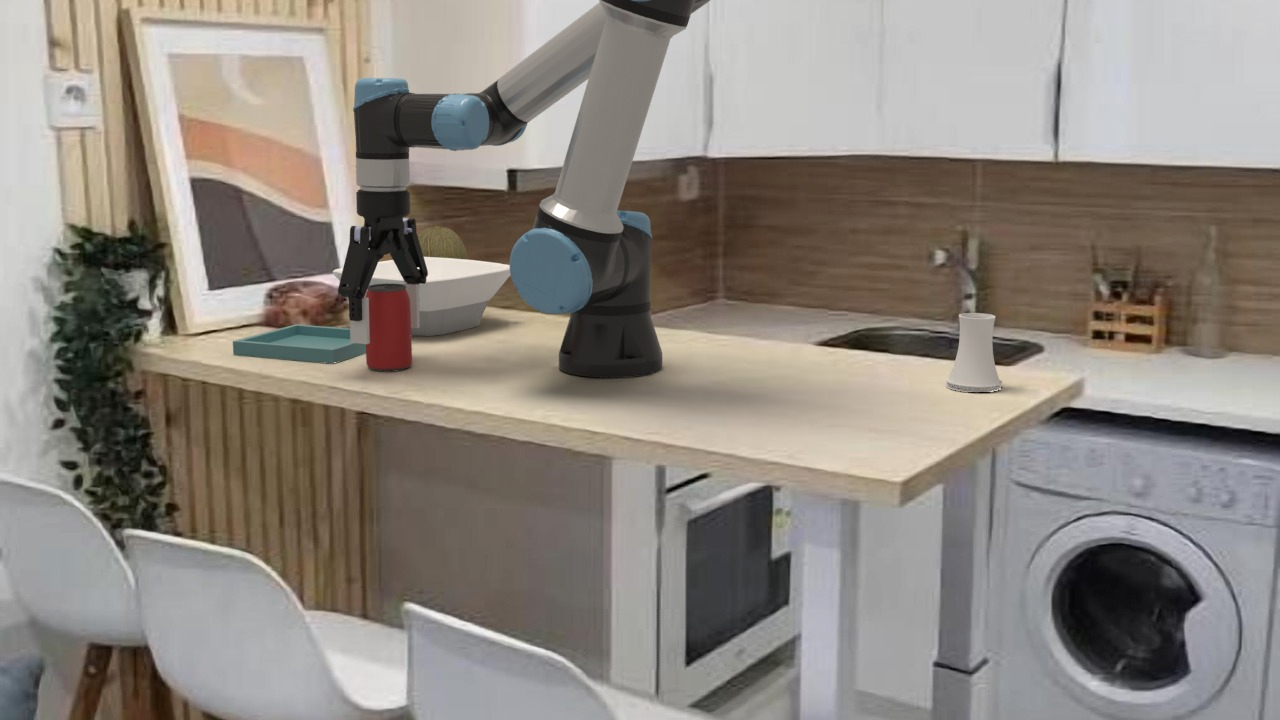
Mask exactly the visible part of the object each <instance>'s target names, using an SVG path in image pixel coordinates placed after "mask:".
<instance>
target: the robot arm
mask: <svg viewBox="0 0 1280 720" xmlns="http://www.w3.org/2000/svg"><path fill="white" fill-rule="evenodd" d="M710 1H711V0H598V2H597V4H595V5H594V6H593V7H591V8H590V9H589V10H588V11H586V12H584V14H582V15H580V17H578V18H577V19H575V20H574V21H573V22H572V23H570V24H569V25H568V26H566V27H564V29H562V30H561V31H560V32H559V33H558V32H557V34H555V35H554V36H553V37H551V39H549V40H548V41H547V42H545V43H544V44H542V45H541V46H540V47H539V48H537V49H536V50H535V51H533V52H532V53H531V54H529V55H528V56H527V57H525V58H524V59H522V60H521V61H520V62H519V63H517V64H516V65H515V66H514V67H512V68H511V69H510V70H508V71H507V72H505V73H504V74H503V75H502V76H500V77H499V79H497V80H496V81H494V82H493V83H491V84H490V85H488V87H486V88H485V89H483V90H482V91H480V92H475V93H473V92H469V93H414V92H410V89H409V84H408V81H407V80H406V79H405V78H393V77H362V78H359V79H358V80H357V81H356V82H355V84H354V104H353V105H354V106H353V109H352V110H353V117H354V119H353V120H354V121H353V122H354V134H355V176H356V180H355V181H356V185H357V187H360V189H357V191H356V192H355V193H356V196H355V197H356V213H357V215H358V216H359V217H361V218H362V217H363V219H364V223H363V225H362V226H361V225H351V226H350V228H349V242H348V247H347V251H346V255H345V260H344V264H343V267H342V268H343V271H342V275H341V279H340V281H339V283H338V288H337V293H338V295H340V296H341V297H342V298H347V299H348V319H349V329H350V343H360V344H369V343H370V333H369V298H366V297H364V296H365V294H366V291H367V289H368V286H369V284H370V281H371V279H372V276H373V274H374V271H375V269H376V266H377V264H378V262H380V260H381V259H384V257H385V256H386V255H390V256H391V260H393V261H394V262H395V264H396V266H397V268H398V270H399V272H400V274H401V276H402V278H403V279H404V281H405V282H407V283H402V284H403V285H405V286H406V291H407V293H408V295H409V298H410V309H411V328H419V327H420V317H419V283H420V284H425V283H426V277H427V276H428V270H427V267H426V263H425V260H424V257H423V253H422V250H421V246H420V243H419V239H418V233H417V221H416V219H415V218H414V217H413V218H410V217H407V216H409V215H410V214H411V195H410V194H411V193H410V191H409V190H408V189H407V187H409V186H410V185H411V174H410V173H411V172H410V169H411V168H410V148H412V149H413V148H422V149H435V150H449V151H453V152H457V151H470V150H471V151H472V150H476V149H478V148H479V147H483V146H493V147H494V146H495V147H497V146H498V147H499V146H504V145H507V144H508V143H509V144H510V143H512V142H513V143H514V142H515V141H517V140H518V139H520V138H521V137H522V136H523V134H524V132H525V131H526V130H527V129H526V128H527V126H528V123H530V122H531V121H532V120H534V119H535V118H537V117H538V116H539V115H541V114H542V113H544V112H545V111H547V110H548V109H549V108H550V107H551V106H553V105H555V104H556V103H557V102H559V101H560V100H561V99H563V98H564V97H566V96H567V95H568V94H570V93H571V92H572V91H574V90H575V89H577V88H578V87H579V86H580V85H582V84H583V83H585V82H586V81H587V83H586V87H585V90H584V92H583V97H582V100H581V104H580V108H579V110H578V114H577V118H576V120H575V124H574V128H573V131H572V134H571V137H570V139H569V140H570V141H569V145H568V147H567V151H566V154H565V158H564V160H563V161H564V162H563V164H562V168H561V171H560V174H559V179H558V181H557V183H556V184H557V185H556V188H555V192H554V193H553V194H552V195H550V196H548V197H546V198H543V199H542V200H540V203H539V205H538V209H537V212H536V216H535V218H534V222H533V226H532V229H530V230H527V232H525V233H524V234H522V236H521V237H519V238H518V239H517V241H516V242H515V243H514V246H513V247H512V250H511V252H510V257H509V265H510V274H511V275H510V278H511V280H512V284H513V285H514V287H515V289H516V291H517V294H518V295H519V296H520V298H521V299H522V300H523V301H524V302H525V303H526V304H527V305H528V306H530V307H531V308H533V310H537V311H538V312H541V313H544V314H547V315H562V314H569V319H568V323H567V325H566V329H565V332H564V336H563V339H562V342H561V345H560V348H559V351H558V368H559V370H560V371H562V372H564V373H567V374H570V375H575V376H579V377H580V376H581V377H588V378H589V377H590V378H608V379H609V378H631V377H639V376H646V375H650V374H653V373H657V372H659V371H660V370H662V369H663V350H662V348H661V344H660V341H659V338H658V335H657V332H656V329H655V326H654V322H653V320H652V314H651V313H652V311H651V294H652V292H651V289H652V288H651V286H652V241H653V235H652V233H651V220H650V217H649V215H647V214H646V213H644V212H641V211H634V210H633V211H631V210H618V208H619V206H620V202H621V200H622V199H621V198H622V195H623V192H624V188H625V187H626V186H625V185H626V184H627V181H628V176H629V173H630V170H631V168H632V167H631V166H632V164H633V162H634V161H633V160H634V158H635V155H636V151H637V147H638V143H639V141H640V139H641V134H642V132H643V129H644V126H645V122H646V119H647V115H648V113H649V108H650V107H651V103H652V100H653V97H654V92H655V90H656V86H657V83H658V80H659V77H660V74H661V70H662V69H663V64H664V61H665V58H666V55H667V51H668V47H669V45H670V41H671V39H672V38H673V37H674V36H675V35H678V34H679V33H681V32H683V31H685V30H687V27H688V25H689V22H690V18H691V15H692V14H693V13H695V12H696V11H697V10H699V9H701V8H702V7H703V6H705V5H706V4H707V3H709V2H710ZM417 267H419V269H417ZM347 285H348V286H347Z"/></svg>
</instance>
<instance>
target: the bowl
mask: <svg viewBox="0 0 1280 720" xmlns="http://www.w3.org/2000/svg"><path fill="white" fill-rule="evenodd" d="M424 260H425V263H426V267H427V270H428V276H427V277H426V283H425V284H420V283H419V317H420V327H419V328H411V336H416V337H417V336H419V337H433V336H441V335H445V334H447V335H448V334H451V333H456V332H461V331H464V330H469V329H473V328H475V327H477V326H479V324H480V322H481V319H482V317H483V315H484V313H485V310H486V307H487V305H488V303H489V301H490V300H491V299H492V298H493V297H494V296H495V295H496V293H497V292H498V291H499V290H500V288H501V287H502V286H503V285H504V284H505V283H506V281H507V280H508V279H509V278H511V274H510V264H505V263H504V264H503V263H500V262H492V261H484V260H475V259H469V260H465V259H453V258H438V257H424ZM417 269H419V267H417ZM342 271H343V267H340V268H336V269H334V270H332V274H333V275H334V277H335V278H336V279H337V280H338V281H339V282H340V279H341V275H342ZM402 283H407V282H405V281H404V279H403V278H402V276H401V274H400V272H399V270H398V268H397V266H396V264H395V262H394V261H393V259H388V260H384V261H378V264H377V266H376V269H375V271H374V274H373V276H372V279H371V281H370V284H369V286H370V285H375V284H402ZM347 286H348V285H347ZM367 290H368V289H367ZM366 293H367V291H366ZM365 296H366V294H365ZM365 296H364V297H365Z"/></svg>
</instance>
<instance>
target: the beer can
mask: <svg viewBox="0 0 1280 720" xmlns="http://www.w3.org/2000/svg"><path fill="white" fill-rule="evenodd" d="M365 297H366V298H369V333H370V343H369V344H366V353H365V358H366V367H368V368H369V369H370V370H373V371H376V370H377V372H397V371H396V370H398V371H404V370H406V369H409V368H410V367H411V366H412V364H413V348H412V347H413V345H412V344H413V343H412V342H413V341H412V335H411V309H410V298H409V295H408V293H407V291H406V286H405V285H403V284H375V285H370V286H368V290H367V293H366V296H365ZM403 369H404V370H403Z"/></svg>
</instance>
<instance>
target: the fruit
mask: <svg viewBox="0 0 1280 720" xmlns="http://www.w3.org/2000/svg"><path fill="white" fill-rule="evenodd" d="M417 236H418V239H419V243H420V246H421V250H422V253H423V257H438V258H453V259H465V260H470V258H469V253H468V252H467V248H466V246H465V244H464V243H463V240H462V239H461V238H460V236H459V234H457V233H456V232H455V231H454V230H453V229H451V228H449V227H446V226H440V225H436V226H434V227H433V226H431V227H427V228H425V229H423V230H422V231H421V232H420V233H419V234H417Z"/></svg>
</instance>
